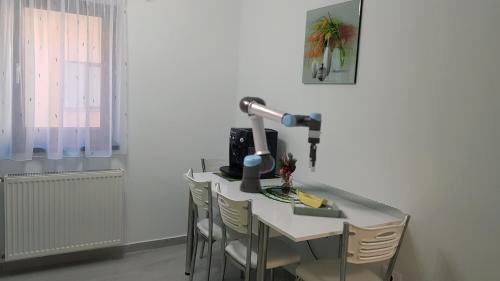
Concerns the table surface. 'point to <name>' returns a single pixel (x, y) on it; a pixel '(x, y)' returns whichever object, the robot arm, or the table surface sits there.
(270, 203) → the table surface
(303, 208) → the tray
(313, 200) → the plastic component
